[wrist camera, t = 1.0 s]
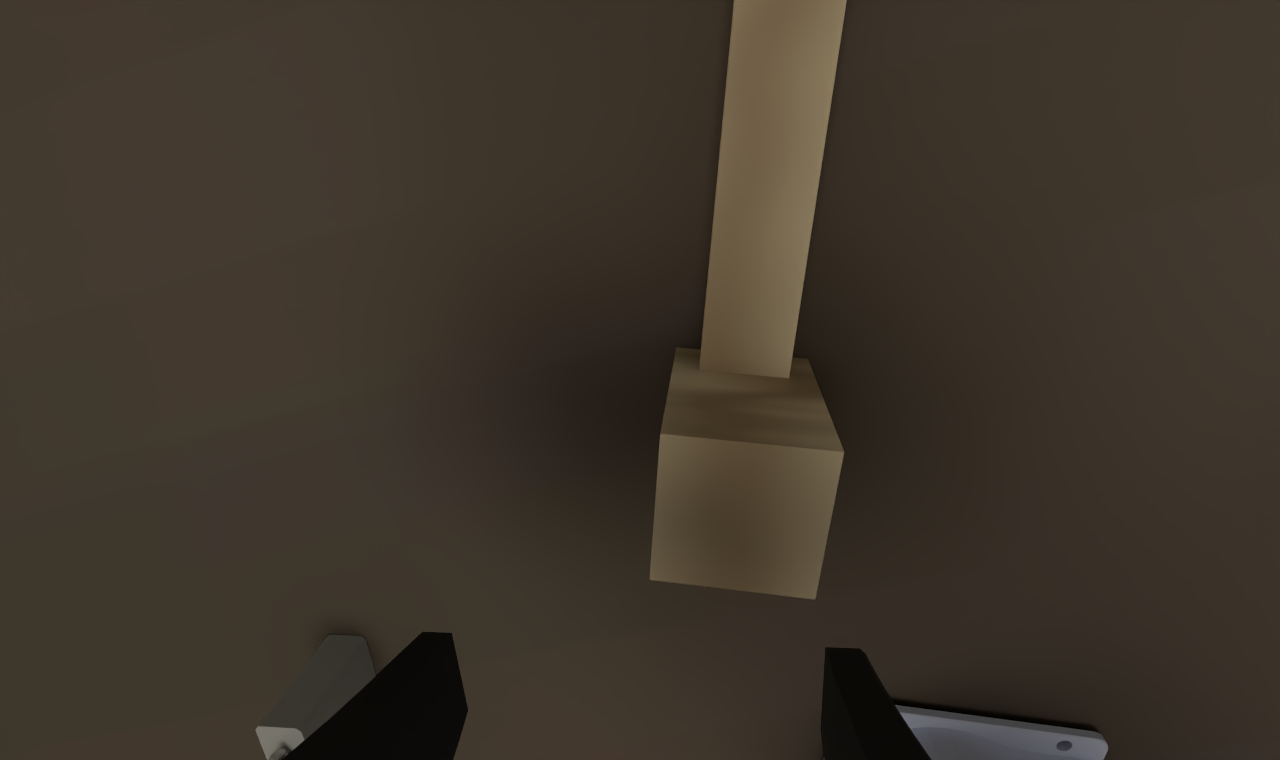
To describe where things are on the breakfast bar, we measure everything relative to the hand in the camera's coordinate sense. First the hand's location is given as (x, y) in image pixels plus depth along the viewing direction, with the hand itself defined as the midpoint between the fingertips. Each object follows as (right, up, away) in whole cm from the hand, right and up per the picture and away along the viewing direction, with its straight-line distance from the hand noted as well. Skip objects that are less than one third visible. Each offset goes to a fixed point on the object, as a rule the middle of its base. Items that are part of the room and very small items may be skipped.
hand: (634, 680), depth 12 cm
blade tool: (+3, +10, +6) cm, 12 cm away
